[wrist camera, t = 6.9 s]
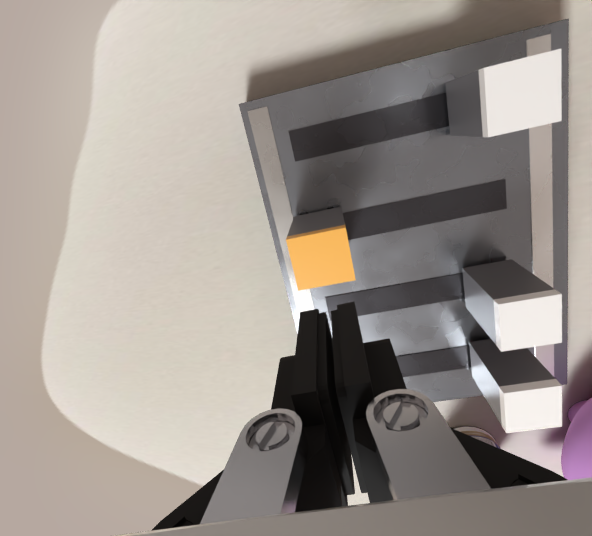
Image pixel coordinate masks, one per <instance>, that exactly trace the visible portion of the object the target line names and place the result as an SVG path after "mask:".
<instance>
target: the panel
mask: <svg viewBox="0 0 592 536" xmlns="http://www.w3.org/2000/svg"><path fill="white" fill-rule="evenodd" d="M568 32H569V19H565V20H561V21H558V22H554V23H550V24H546V25H542V26H538V27H534V28H531V29H527V30H523V31H519V32H515V33H511V34H507V35H504V36H500V37H496V38H492V39H488V40H484V41H480V42H477V43H473V44H469V45H465V46H461V47H457V48H453V49H450V50H446V51H442V52H438V53H434V54H430V55H426V56H423V57H419V58H415V59H411V60H407V61H403V62H399V63H396V64H392V65H388V66H384V67H380V68H376V69H372V70H369V71H365V72H361V73H357V74H353V75H349V76H345V77H342V78H338V79H334V80H330V81H326V82H322V83H318V84H315V85H311V86H307V87H303V88H299V89H295V90H291V91H287V92H284V93H280V94H276V95H272V96H268V97H264V98H260V99H257V100H253V101H249V102H245V103H241V104H239V107H240V111H241V114H242V118H243V122H244V126H245V130H246V134H247V138H248V142H249V146H250V150H251V154H252V158H253V161H254V165H255V169H256V173H257V177H258V181H259V185H260V189H261V193H262V197H263V201H264V205H265V209H266V212H267V216H268V220H269V224H270V228H271V232H272V236H273V240H274V244H275V248H276V252H277V256H278V259H279V263H280V267H281V271H282V275H283V279H284V283H285V287H286V291H287V295H288V299H289V303H290V306H291V310H292V314H293V318H294V322H295V326H296V330H297V334H298V327H299V318H300V312H303V311H308V310H313V309H318V310H319V313H322V312H326V315H327V318H328V323H329V327H330V331H331V335H332V322H331V311H333V310H337V305H339V304H344V303H349V302H355V306H356V311H357V316H358V320H359V325H360V330H361V335H362V339H363V343H366V342H371V341H377V340H382V339H388V338H389V339H390V341H391V344H392V347H393V350H394V353H395V356H396V358H397V361H398V364H399V367H400V370H401V373H402V376H403V379H404V382H405V385H406V388H407V389H410V390H414V391H417V392H420V393H422V394H424V395H426V396H427V397H428V398H429V399H430V400H431V401H432V402H437V401H445V400H452V399H460V398H467V397H475V396H482V395H483V394H482V392H481V390H480V389H479V387H478V385H477V384H476V382H475V380H474V379H473V377H472V369H471V358H470V347H469V342H474V341H481V340H487V339H491V338H490V337H489V336H488V334H487V333H486V332H485V331H484V329H483V328H482V327H481V326H480V324H479V323H478V322H477V321H476V319H475V318H474V317H473V316H472V314H471V313H470V312H469V311H468V309H467V308H466V303H465V292H464V282H463V271H462V268H466V267H471V266H477V265H483V264H488V263H494V262H499V261H505V260H510V259H512V260H514V261H515V262H516V263H518V264H519V265H521V266H522V267H524V268H525V269H526V270H528V271H529V272H531V273H532V274H534V275H535V276H537V277H538V278H539V279H541V280H542V281H544V282H545V283H547V284H548V285H550V286H551V287H552V288H554V289H555V290H557V291H558V292H560V293H561V294H562V343H556V344H550V345H543V346H536V347H530V348H528V349H529V351H530V352H531V353H532V354H533V355H534V356H535V357H536V358H537V359H538V360H539V361H540V362H541V364H542V365H543V366H544V367H545V368H546V369H547V370H548V371H549V372H550V373H551V374H552V375H553V376H554V378H555V379H556V380H557V381H558V382H559V383H560V384H561V385H564V384H567V313H568ZM557 49H561V105H562V121H559V122H555V123H550V124H546V125H541V126H537V127H532V128H528V129H524V130H519V131H515V132H510V133H506V134H501V135H497V136H492V137H469V136H450V128H449V118H448V107H447V96H446V85H445V83H446V82H449V81H451V80H454V79H456V78H459V77H461V76H464V75H467V74H469V73H472V72H474V71H477V70H480V69H482V68H485V67H489V66H493V65H497V64H501V63H505V62H509V61H513V60H517V59H521V58H525V57H529V56H533V55H537V54H541V53H545V52H549V51H553V50H557ZM337 207H341V208H342V212H343V217H344V222H345V226H346V231H347V237H348V242H349V247H350V252H351V258H352V263H353V268H354V274H355V279H356V280H354V281H349V282H343V283H338V284H332V285H327V286H321V287H316V288H311V289H305V290H300V291H298V287H297V283H296V279H295V275H294V271H293V267H292V263H291V259H290V255H289V251H288V246H287V242H286V238H287V235H288V232H289V229H290V227H291V224H292V221H293V218H294V216H299V215H303V214H308V213H313V212H318V211H322V210H327V209H332V208H337Z"/></svg>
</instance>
